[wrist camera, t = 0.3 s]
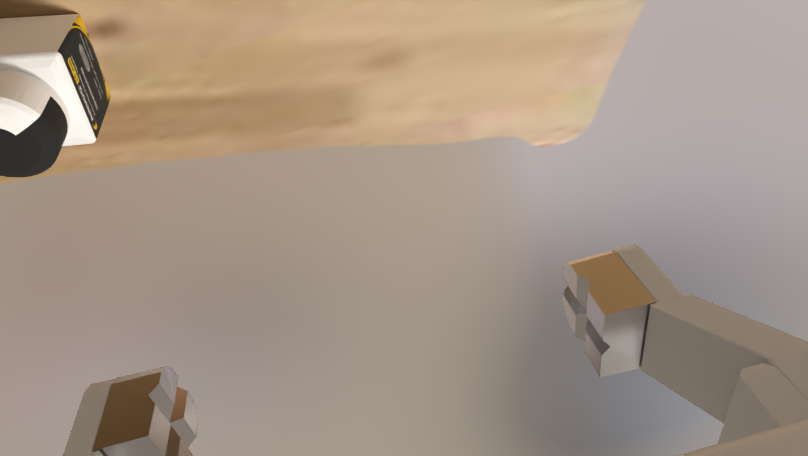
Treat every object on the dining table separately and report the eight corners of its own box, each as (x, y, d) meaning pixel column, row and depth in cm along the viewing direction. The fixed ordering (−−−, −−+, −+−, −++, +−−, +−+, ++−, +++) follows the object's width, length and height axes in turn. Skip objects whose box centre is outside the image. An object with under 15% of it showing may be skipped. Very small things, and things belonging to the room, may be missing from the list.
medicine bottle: (112, 97, 47) (82, 184, 38) (19, 105, 45) (-34, 196, 37) (81, 12, 42) (38, 88, 33) (-24, 18, 41) (-97, 99, 32)
